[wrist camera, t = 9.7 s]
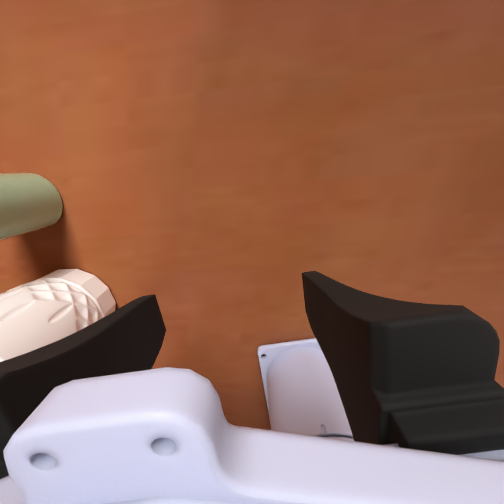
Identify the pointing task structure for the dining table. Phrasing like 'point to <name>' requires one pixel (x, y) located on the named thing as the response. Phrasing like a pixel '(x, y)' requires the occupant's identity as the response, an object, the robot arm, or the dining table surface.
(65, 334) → the white cup
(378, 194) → the dining table surface
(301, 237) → the dining table surface
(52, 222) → the salt shaker
